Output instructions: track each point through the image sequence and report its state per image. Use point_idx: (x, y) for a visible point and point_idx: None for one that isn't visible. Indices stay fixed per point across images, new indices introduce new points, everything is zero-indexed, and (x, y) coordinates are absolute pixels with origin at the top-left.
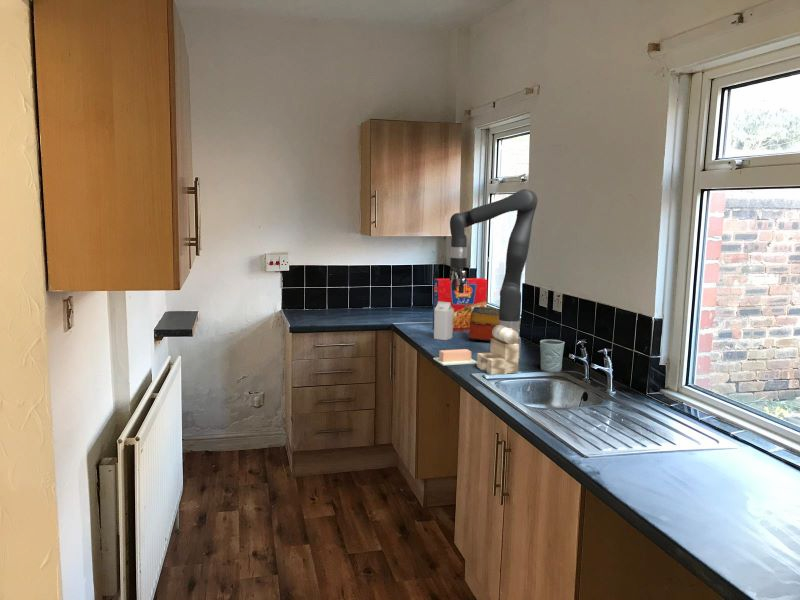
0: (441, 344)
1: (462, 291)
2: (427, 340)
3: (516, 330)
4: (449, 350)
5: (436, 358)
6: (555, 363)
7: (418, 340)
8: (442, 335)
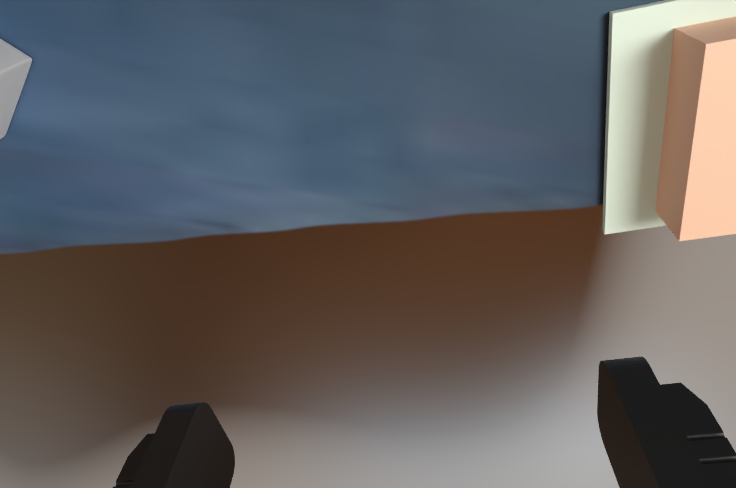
0: (179, 114)
1: (683, 404)
2: (69, 182)
3: None
4: (703, 182)
5: (626, 221)
6: None
7: (86, 232)
8: (4, 94)
